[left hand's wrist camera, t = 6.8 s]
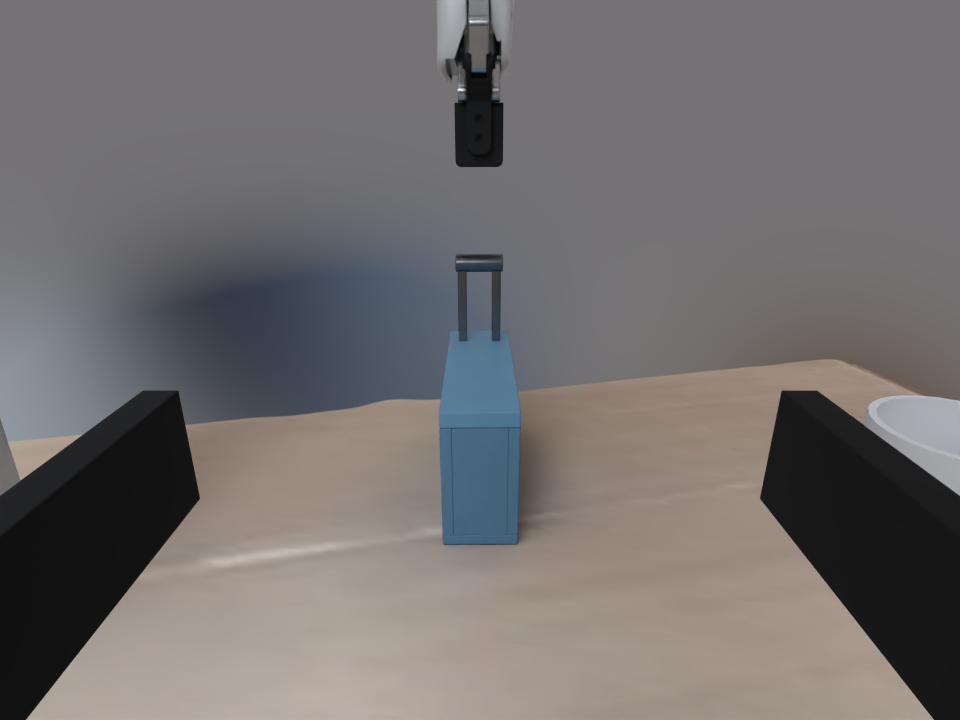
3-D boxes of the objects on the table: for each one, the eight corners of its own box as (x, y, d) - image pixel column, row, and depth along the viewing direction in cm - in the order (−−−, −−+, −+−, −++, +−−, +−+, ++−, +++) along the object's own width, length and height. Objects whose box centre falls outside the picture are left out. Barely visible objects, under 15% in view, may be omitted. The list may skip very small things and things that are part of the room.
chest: (452, 432, 55) (450, 344, 52) (506, 432, 55) (507, 343, 52) (443, 544, 39) (439, 428, 36) (517, 544, 39) (520, 428, 36)
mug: (821, 584, 35) (859, 435, 32) (841, 514, 42) (874, 384, 38) (1067, 677, 29) (1149, 505, 26) (1044, 578, 36) (1108, 430, 32)
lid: (451, 341, 52) (449, 248, 49) (507, 341, 52) (509, 248, 49) (439, 428, 36) (435, 298, 33) (520, 427, 36) (523, 297, 33)
